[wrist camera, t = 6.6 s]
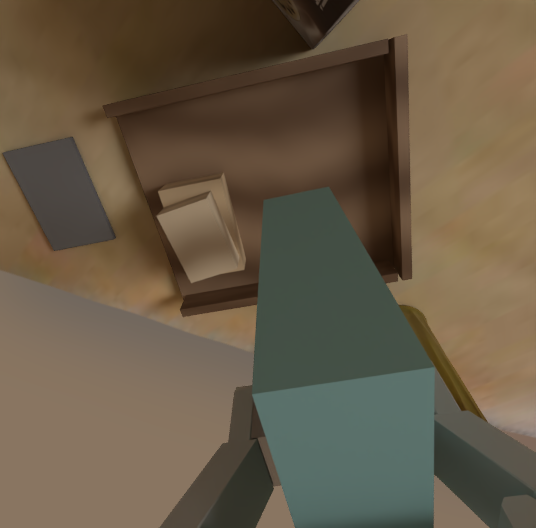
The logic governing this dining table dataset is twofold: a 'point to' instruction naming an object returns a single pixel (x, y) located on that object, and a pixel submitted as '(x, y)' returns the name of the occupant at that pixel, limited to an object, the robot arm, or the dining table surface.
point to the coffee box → (314, 16)
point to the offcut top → (199, 237)
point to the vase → (440, 361)
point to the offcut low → (221, 195)
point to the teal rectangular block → (339, 375)
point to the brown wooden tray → (285, 153)
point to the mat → (60, 193)
